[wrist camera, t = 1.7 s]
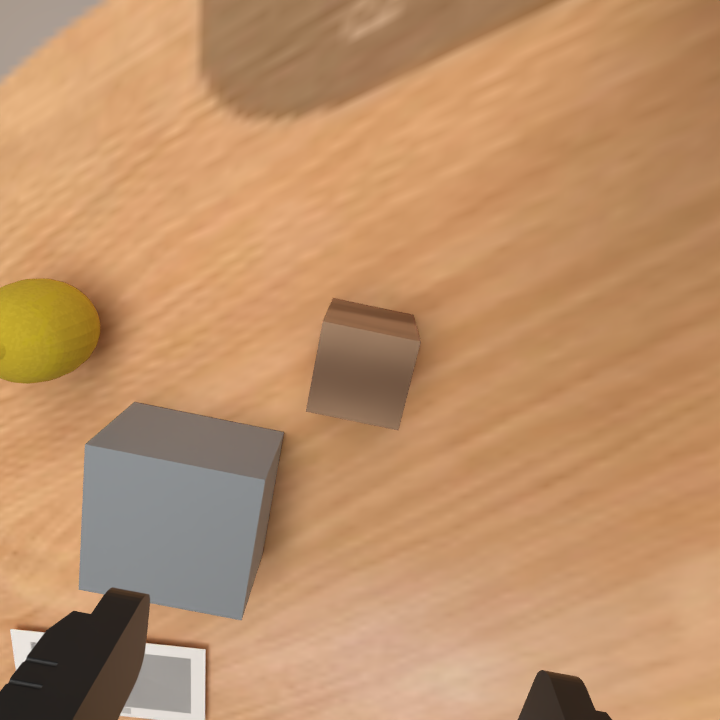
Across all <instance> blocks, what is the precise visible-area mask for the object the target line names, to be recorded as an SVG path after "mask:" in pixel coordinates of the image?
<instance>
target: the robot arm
mask: <svg viewBox="0 0 720 720" xmlns="http://www.w3.org/2000/svg"><path fill="white" fill-rule="evenodd" d="M149 607H150V595H149V594H145V593H140V592H135V591H129V590H124V589H119V588H113V587H112V588H110V589H109V590H108V591H107V592H106V593H105V594H104V596H103V597H102V599H101V600H100V602H99V603H98V605H97V606H96V608H95V609H94V611H93V612H92V614H87V613H82V612H77V611H73V612H71V613H70V614H69V615H67V616H66V617H64V618H63V619H62V620H60V621H59V622H58V623H56V624H55V625H53V626H52V627H51V628H49V629H48V630H46V632H45V633H44V634H43V636H42V637H41V638H40V640H39V641H38V642H37V644H36V645H35V646H34V648H33V649H32V650H31V652H30V653H29V654H28V655H27V658H26V660H25V662H22V663H21V665H20V666H19V667H18V669H17V670H16V671H15V673H14V674H13V675H12V677H11V678H10V681H9V683H8V684H6V685H5V686H4V687H3V689H2V690H1V691H0V720H118V718H119V716H120V714H121V712H122V710H123V708H124V706H125V704H126V702H127V700H128V698H129V696H130V694H131V692H132V690H133V687H134V685H135V683H136V681H137V678H138V675H139V673H140V670H141V666H142V663H143V659H144V655H145V648H146V638H147V628H148V617H149ZM518 720H612V719H611V718H610V717H609V715H608V714H607V713H606V712H601V711H596V710H595V708H594V706H593V703H592V701H591V698H590V696H589V694H588V691H587V689H586V687H585V685H584V683H583V681H582V680H581V679H580V678H579V677H576V676H570V675H565V674H560V673H554V672H549V671H544V670H541V671H539V672H538V673H537V675H536V677H535V679H534V682H533V684H532V687H531V689H530V692H529V694H528V696H527V699H526V701H525V704H524V706H523V709H522V711H521V713H520V716H519V718H518Z"/></svg>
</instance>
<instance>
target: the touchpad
mask: <svg viewBox="0 0 720 720" xmlns="http://www.w3.org/2000/svg"><path fill="white" fill-rule="evenodd" d="M10 631H11V638H12V646H13V653H14V660H15V667H16V670H17V669H18V667H19V666H20V665H21V663H22V662H25V660H26V658H27V655H28V654H29V653H30V652H31V650H32V649H33V648H34V646H35V645H36V644H37V642H38V641H39V640H40V638H41V637H42V636H43V634H44V633H45V632H36V631H26V630H17V629H10ZM205 660H206V649H198V648H189V647H179V646H170V645H160V644H150V643H146V648H145V655H144V659H143V663H142V666H141V670H140V673H139V675H138V678H137V681H136V683H135V685H134V687H133V690H132V692H131V694H130V696H129V698H128V700H127V702H126V704H125V706H124V708H123V710H122V712H121V714H120V716H127V717H137V718H146V719H156V720H205Z"/></svg>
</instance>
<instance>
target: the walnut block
mask: <svg viewBox="0 0 720 720" xmlns="http://www.w3.org/2000/svg"><path fill="white" fill-rule="evenodd" d="M420 343H421V341H420V337H419V334H418V330H417V326H416V323H415V319H414V316H413V315H411V314H406V313H402V312H397V311H392V310H387V309H383V308H378V307H373V306H368V305H364V304H359V303H354V302H349V301H345V300H340V299H335V298H333V299H332V302H331V304H330V306H329V309H328V311H327V313H326V315H325V318H324V320H323V324H322V329H321V334H320V340H319V345H318V350H317V356H316V361H315V366H314V372H313V377H312V382H311V387H310V393H309V398H308V403H307V409H306V412H311V413H316V414H321V415H326V416H331V417H335V418H340V419H345V420H350V421H355V422H360V423H365V424H370V425H375V426H380V427H385V428H390V429H394V430H399V426H400V422H401V418H402V414H403V410H404V406H405V402H406V398H407V394H408V390H409V386H410V382H411V378H412V375H413V371H414V367H415V363H416V359H417V355H418V351H419V347H420Z"/></svg>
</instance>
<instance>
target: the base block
mask: <svg viewBox="0 0 720 720" xmlns="http://www.w3.org/2000/svg"><path fill="white" fill-rule="evenodd" d="M283 436H284V432H281V431H276V430H271V429H266V428H261V427H256V426H251V425H246V424H241V423H236V422H231V421H226V420H221V419H216V418H211V417H206V416H201V415H196V414H191V413H186V412H181V411H176V410H171V409H166V408H161V407H156V406H152V405H147V404H142V403H137V402H134V403H133V404H131V405H130V406H129V407H128V408H127V409H126V410H124V411H123V412H122V413H121V414H120V415H119V416H117V417H116V418H115V419H114V420H113V421H112V422H110V423H109V424H108V425H107V426H106V427H105V428H104V429H102V430H101V431H100V432H99V433H98V434H97V435H95V436H94V437H93V438H92V439H91V440H90V441H88V442H87V443H86V444H85V459H84V482H83V504H82V527H81V550H80V573H79V590H84V591H89V592H95V593H100V594H105V593H106V592H107V591H108V590H109V589H110V588H112V587H113V588H119V589H124V590H129V591H135V592H140V593H145V594H149V595H150V603H153V604H158V605H163V606H169V607H174V608H179V609H184V610H190V611H195V612H200V613H206V614H211V615H216V616H221V617H227V618H232V619H237V620H242V617H243V614H244V611H245V608H246V605H247V602H248V599H249V595H250V592H251V589H252V586H253V583H254V580H255V577H256V573H257V570H258V567H259V564H260V561H261V558H262V554H263V549H264V543H265V537H266V532H267V526H268V520H269V515H270V509H271V503H272V498H273V492H274V486H275V481H276V475H277V469H278V464H279V458H280V453H281V447H282V441H283Z"/></svg>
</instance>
